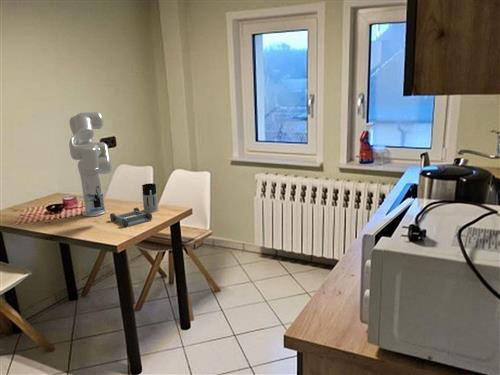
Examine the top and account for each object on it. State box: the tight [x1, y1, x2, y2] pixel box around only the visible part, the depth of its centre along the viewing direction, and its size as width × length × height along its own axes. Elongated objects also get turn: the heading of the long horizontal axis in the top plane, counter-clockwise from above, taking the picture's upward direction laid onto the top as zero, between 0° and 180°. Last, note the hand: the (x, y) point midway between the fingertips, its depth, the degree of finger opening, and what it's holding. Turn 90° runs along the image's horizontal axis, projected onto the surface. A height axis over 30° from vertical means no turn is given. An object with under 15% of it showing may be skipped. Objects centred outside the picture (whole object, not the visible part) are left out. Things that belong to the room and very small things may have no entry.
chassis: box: [109, 207, 153, 227], centre depth 223 cm, size 17×15×4 cm
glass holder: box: [141, 183, 160, 214], centre depth 236 cm, size 9×14×15 cm, turn 18°
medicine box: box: [85, 192, 105, 213], centre depth 215 cm, size 8×4×9 cm, turn 131°
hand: (95, 205), depth 216 cm, fingers closed on medicine box, 4 cm apart
